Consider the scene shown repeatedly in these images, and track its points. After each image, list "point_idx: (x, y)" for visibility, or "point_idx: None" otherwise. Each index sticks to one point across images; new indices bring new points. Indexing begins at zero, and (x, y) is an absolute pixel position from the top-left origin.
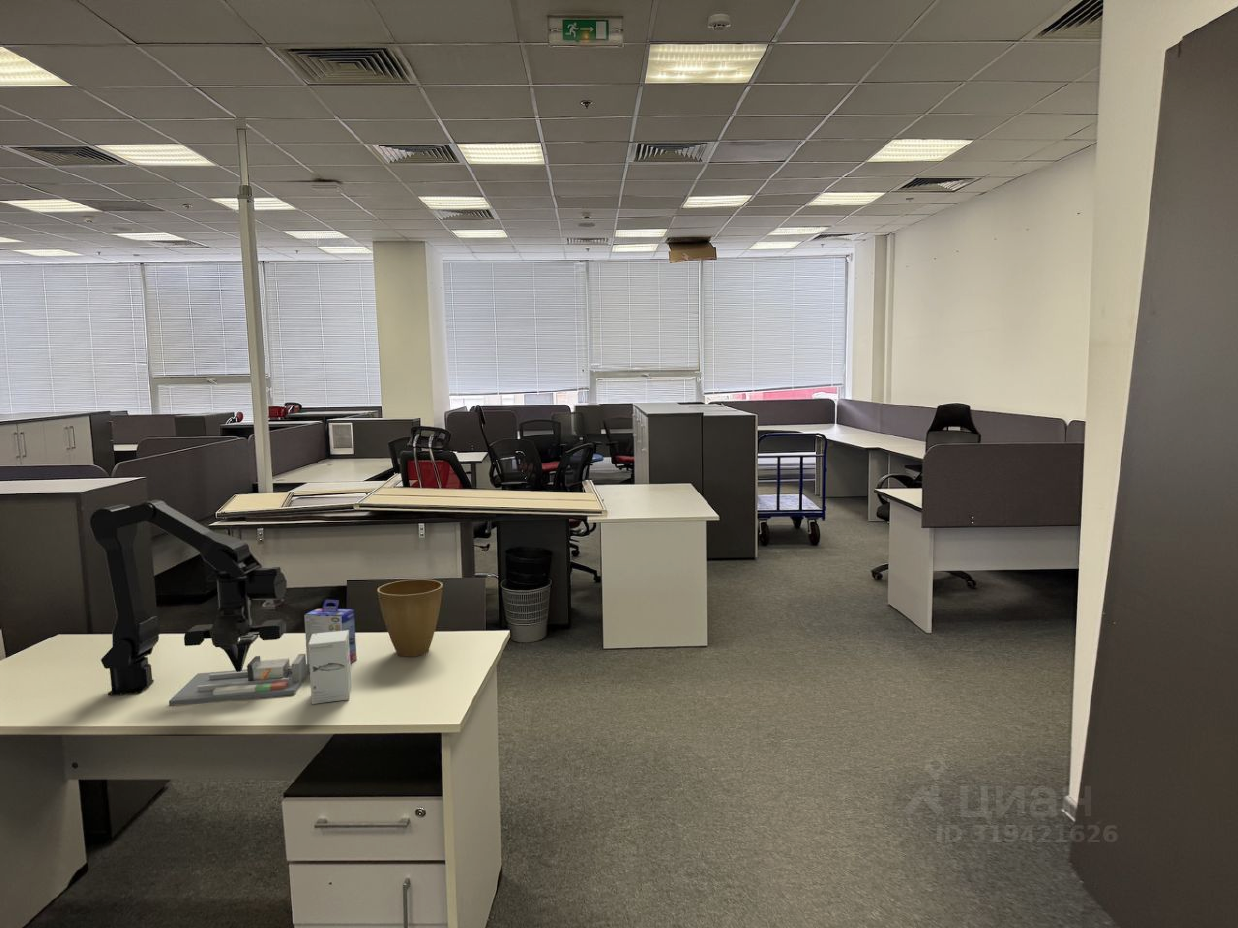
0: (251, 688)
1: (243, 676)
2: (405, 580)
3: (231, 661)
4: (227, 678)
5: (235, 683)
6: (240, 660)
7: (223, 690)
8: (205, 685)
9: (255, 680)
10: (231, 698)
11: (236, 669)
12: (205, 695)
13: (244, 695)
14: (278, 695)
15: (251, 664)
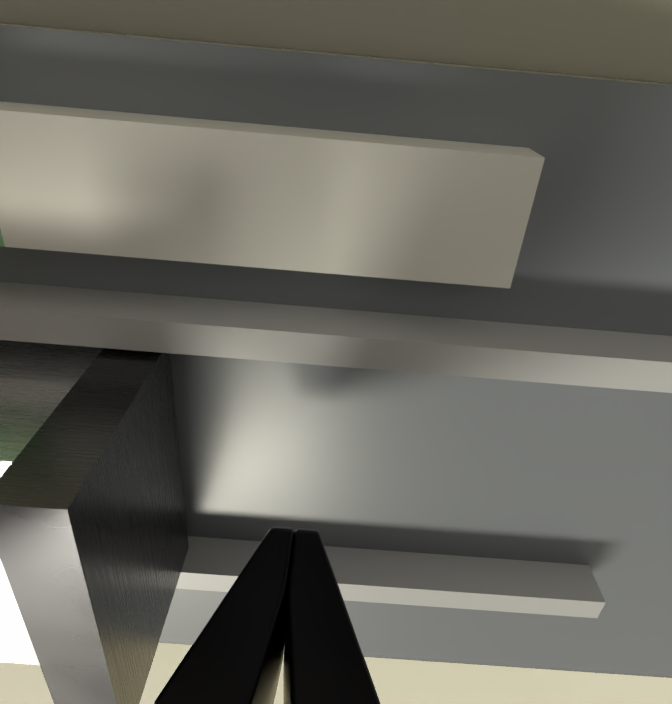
0: (14, 108)
1: None
2: None
3: (359, 663)
4: (438, 546)
5: (294, 331)
6: (215, 658)
7: (402, 150)
8: (642, 375)
9: (86, 363)
10: (289, 50)
11: (310, 549)
12: (622, 174)
13: (115, 37)
14: None
15: (12, 531)
